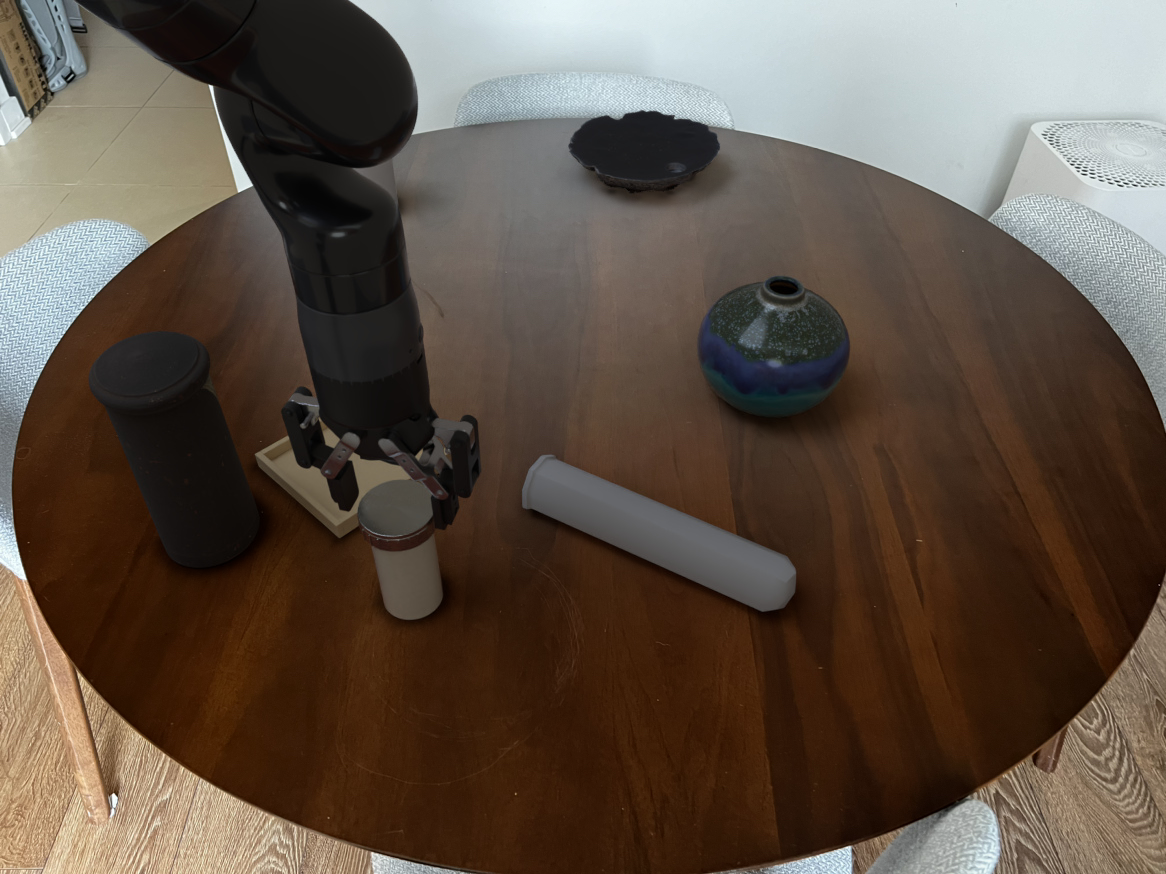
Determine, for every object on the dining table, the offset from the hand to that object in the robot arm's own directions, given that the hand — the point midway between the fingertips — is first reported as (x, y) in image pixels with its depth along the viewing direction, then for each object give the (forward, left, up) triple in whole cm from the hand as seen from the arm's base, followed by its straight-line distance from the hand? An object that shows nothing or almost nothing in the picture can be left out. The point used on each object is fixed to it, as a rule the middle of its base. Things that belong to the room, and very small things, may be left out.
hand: (397, 512), depth 70 cm
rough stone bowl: (+72, +36, -10) cm, 81 cm away
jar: (0, 0, -10) cm, 10 cm away
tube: (+18, -12, -10) cm, 24 cm away
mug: (+38, +58, -10) cm, 70 cm away
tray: (+6, +16, -10) cm, 20 cm away
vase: (+43, -6, -10) cm, 44 cm away
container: (-8, +18, -10) cm, 22 cm away
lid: (0, 0, +1) cm, 1 cm away
